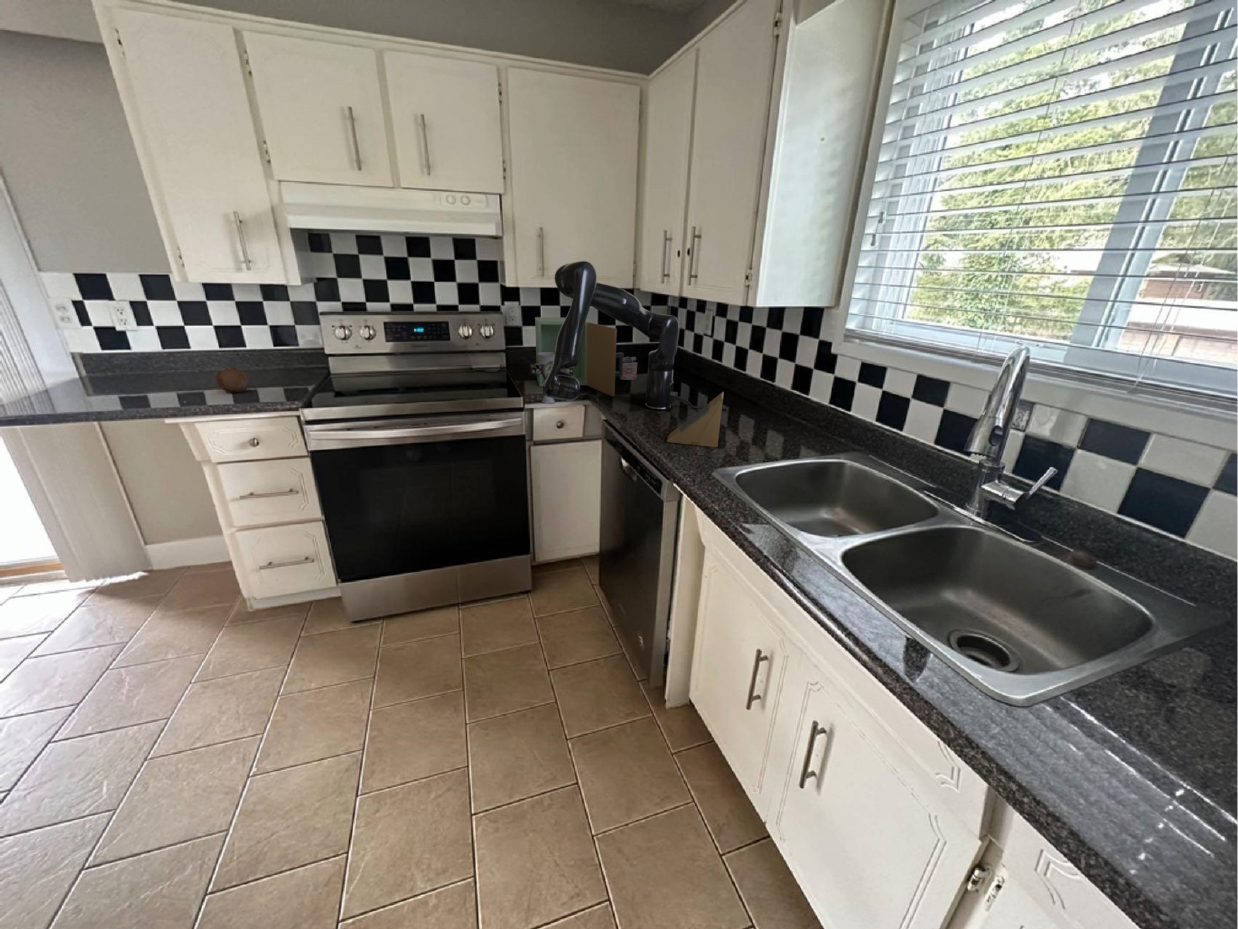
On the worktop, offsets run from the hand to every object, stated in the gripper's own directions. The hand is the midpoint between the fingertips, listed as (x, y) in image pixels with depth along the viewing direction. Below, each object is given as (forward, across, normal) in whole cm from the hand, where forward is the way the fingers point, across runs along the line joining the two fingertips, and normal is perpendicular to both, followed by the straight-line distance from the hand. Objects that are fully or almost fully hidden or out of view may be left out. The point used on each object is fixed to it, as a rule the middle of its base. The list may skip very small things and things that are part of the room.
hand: (549, 364), depth 175 cm
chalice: (+8, 0, +16) cm, 17 cm away
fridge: (+39, -9, +16) cm, 43 cm away
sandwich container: (-41, -39, +16) cm, 59 cm away
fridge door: (+23, -25, +15) cm, 37 cm away
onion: (+34, +113, +16) cm, 119 cm away
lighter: (+42, -40, +16) cm, 60 cm away
